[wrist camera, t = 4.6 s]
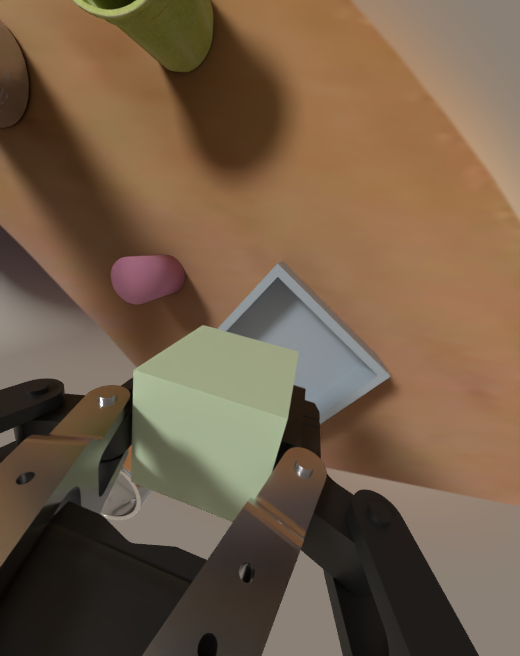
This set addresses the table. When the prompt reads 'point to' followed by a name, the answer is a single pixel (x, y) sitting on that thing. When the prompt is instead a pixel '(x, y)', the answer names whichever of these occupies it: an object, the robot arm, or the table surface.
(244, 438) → the sage block
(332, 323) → the tub
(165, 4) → the plant pot
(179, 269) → the plum cylinder
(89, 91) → the table surface
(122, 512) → the beer glass
